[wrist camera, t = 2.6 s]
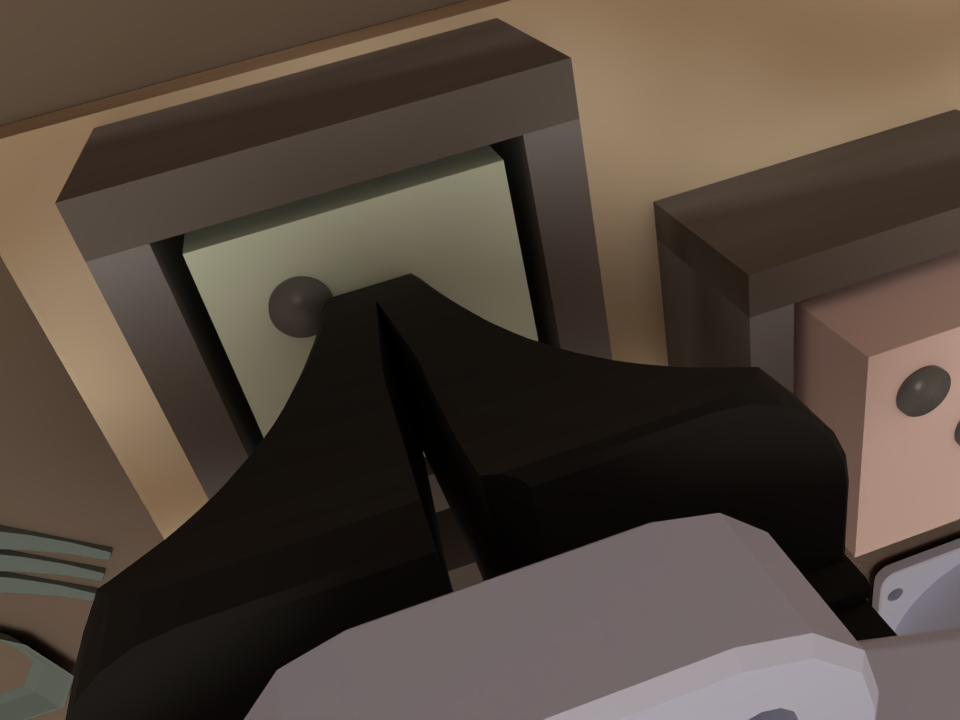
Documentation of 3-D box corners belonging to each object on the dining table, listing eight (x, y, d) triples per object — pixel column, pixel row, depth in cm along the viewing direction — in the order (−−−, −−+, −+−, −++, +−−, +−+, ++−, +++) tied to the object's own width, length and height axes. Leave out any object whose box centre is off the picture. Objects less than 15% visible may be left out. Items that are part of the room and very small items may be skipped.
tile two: (504, 335, 16) (554, 417, 14) (281, 405, 15) (292, 504, 13) (456, 110, 14) (505, 162, 11) (190, 186, 13) (182, 257, 11)
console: (924, 462, 24) (1056, 574, 20) (272, 695, 21) (282, 870, 18) (997, -143, 15) (1246, -148, 12) (-40, 136, 13) (-146, 241, 10)
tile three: (956, 399, 18) (1071, 482, 15) (769, 464, 17) (859, 561, 15) (983, 211, 15) (1124, 274, 13) (767, 281, 15) (872, 360, 12)
